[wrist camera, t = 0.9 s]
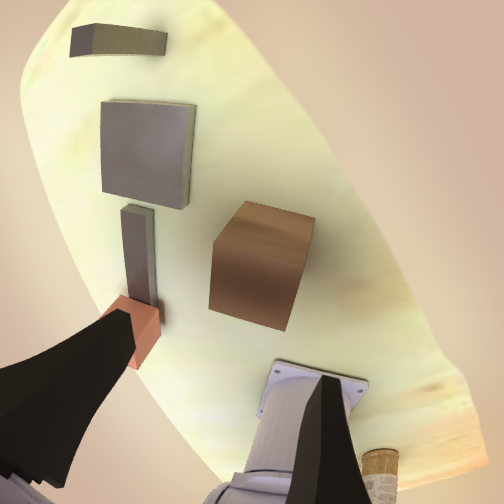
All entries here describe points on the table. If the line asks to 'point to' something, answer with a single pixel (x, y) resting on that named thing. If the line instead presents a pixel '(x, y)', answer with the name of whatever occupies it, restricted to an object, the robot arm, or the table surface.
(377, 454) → the sprinkles bottle
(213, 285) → the block
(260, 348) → the table surface
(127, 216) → the rail
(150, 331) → the lever handle
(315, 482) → the robot arm
